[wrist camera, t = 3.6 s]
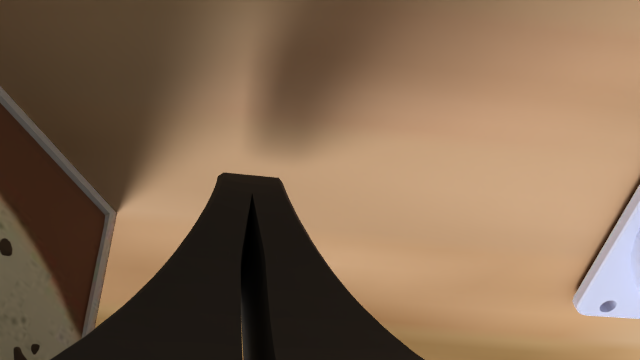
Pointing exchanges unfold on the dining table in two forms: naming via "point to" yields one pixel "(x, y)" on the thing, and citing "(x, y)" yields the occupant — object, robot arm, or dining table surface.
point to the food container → (46, 243)
